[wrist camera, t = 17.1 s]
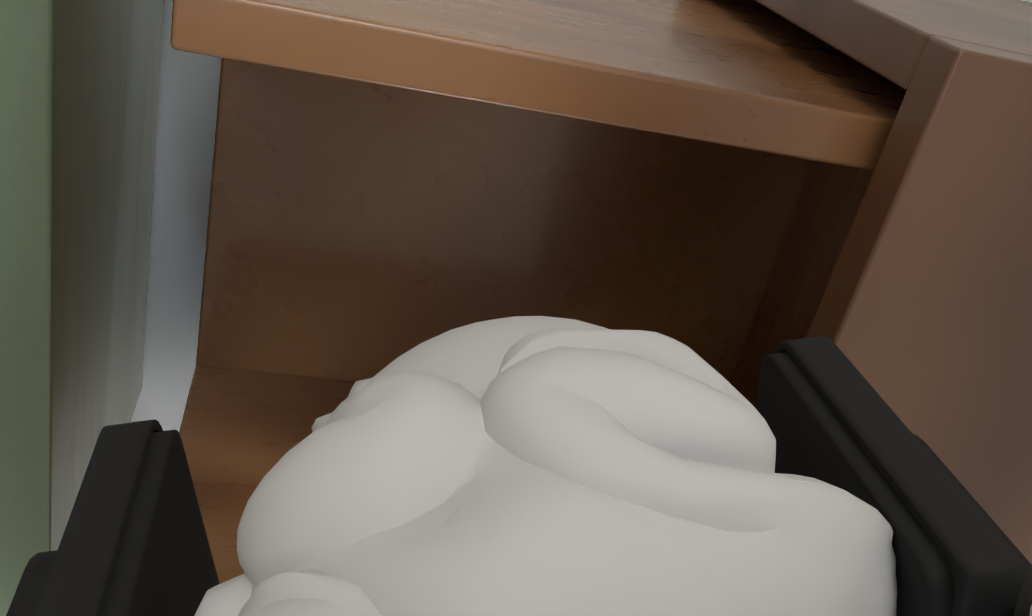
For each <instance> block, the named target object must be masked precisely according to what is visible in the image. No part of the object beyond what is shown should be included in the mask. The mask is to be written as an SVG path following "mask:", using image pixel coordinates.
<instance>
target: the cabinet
mask: <svg viewBox="0 0 1032 616" xmlns="http://www.w3.org/2000/svg"><path fill="white" fill-rule="evenodd" d="M714 1H719V2H724V3H729V4H733V5H738V6H743V7H748V8H752V9H757V10H762V11H767V12H771V13H776V14H778V15H780V16H782V17H783V18H785V19H787V20H788V21H790V22H792V23H793V24H795V25H797V26H798V27H800V28H802V29H804V30H805V31H807V32H809V33H810V34H812V35H814V36H815V37H817V38H819V39H820V40H822V41H824V42H826V43H827V44H829V45H831V46H832V47H834V48H836V49H837V50H839V51H841V52H842V53H844V54H846V55H848V56H849V57H851V58H853V59H854V60H856V61H858V62H859V63H861V64H863V65H864V66H866V67H868V68H870V69H871V70H873V71H875V72H876V73H878V74H880V75H881V76H883V77H885V78H886V79H888V80H890V81H892V82H893V83H895V84H897V85H898V86H900V87H902V88H903V89H905V90H907V91H906V94H905V96H904V99H903V101H902V104H901V106H900V109H899V111H898V113H897V116H896V118H895V121H894V123H893V126H892V128H891V131H890V133H889V135H888V138H887V140H886V143H885V145H884V148H883V150H882V152H881V155H880V157H879V160H878V162H877V165H876V167H875V170H874V172H873V174H872V177H871V179H870V182H869V184H868V187H867V189H866V192H865V194H864V196H863V199H862V201H861V204H860V206H859V209H858V211H857V214H856V216H855V218H854V221H853V223H852V226H851V228H850V231H849V233H848V236H847V238H846V240H845V243H844V245H843V248H842V250H841V253H840V255H839V258H838V260H837V262H836V265H835V267H834V270H833V272H832V275H831V277H830V280H829V282H828V284H827V287H826V289H825V292H824V294H823V297H822V299H821V301H820V304H819V306H818V309H817V311H816V314H815V316H814V319H813V321H812V323H811V326H810V328H809V331H808V333H807V336H806V338H810V337H818V336H827V337H829V338H830V339H831V340H832V341H833V342H834V343H835V344H836V345H837V346H838V348H839V349H840V350H841V351H842V352H843V353H844V355H845V356H846V357H847V358H848V359H849V360H850V362H851V363H852V364H853V365H854V366H855V367H856V369H857V370H858V371H859V372H860V373H861V374H862V375H863V377H864V378H865V379H866V380H867V381H868V382H869V384H870V385H871V386H872V387H873V388H874V389H875V391H876V392H877V393H878V394H879V395H880V396H881V398H882V399H883V400H884V401H885V402H886V403H887V405H888V406H889V407H890V408H891V409H892V410H893V412H894V413H895V414H896V415H897V416H898V417H899V418H900V420H901V421H902V422H903V423H904V424H905V425H906V427H907V428H908V429H909V430H910V431H911V432H912V434H915V435H917V436H919V437H920V438H921V439H922V440H923V441H924V442H926V444H927V445H928V446H929V447H930V448H931V449H932V450H933V452H934V453H935V454H936V455H937V456H938V457H939V458H940V460H941V461H942V462H943V463H944V464H945V465H946V467H947V468H948V469H949V470H950V471H951V472H952V473H953V475H954V476H955V477H956V478H957V479H958V480H959V481H960V483H961V484H962V485H963V486H964V487H965V488H966V490H967V491H968V492H969V493H970V494H971V495H972V496H973V498H974V499H975V500H976V501H977V502H978V503H979V505H980V506H981V507H982V508H983V509H984V510H985V511H986V513H987V514H988V515H989V516H990V517H991V518H992V519H993V521H994V522H995V523H996V524H997V525H998V526H999V528H1000V529H1001V530H1002V531H1003V532H1004V533H1005V534H1006V536H1007V537H1008V538H1009V539H1010V540H1011V541H1012V542H1013V544H1014V545H1015V546H1016V547H1017V548H1018V549H1019V551H1020V552H1021V553H1022V554H1023V555H1024V556H1025V557H1026V559H1027V560H1028V561H1029V562H1030V563H1031V564H1032V3H1031V2H1027V1H1022V0H714Z"/></svg>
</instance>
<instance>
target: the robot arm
mask: <svg viewBox="0 0 1032 616" xmlns="http://www.w3.org/2000/svg"><path fill="white" fill-rule="evenodd" d="M757 411H758V412H759V413H760V414H761V415H762V417H763V418H764V419H765V420H766V422H767V424H768V426H769V428H770V429H771V431H772V433H773V435H774V437H775V439H776V459H775V473H781V474H795V475H800V476H806V477H811V478H815V479H818V480H820V481H823V482H826V483H828V484H831V485H833V486H836V487H838V488H841V489H843V490H845V491H847V492H849V493H850V494H852V495H854V496H855V497H857V498H859V499H860V500H862V501H864V502H865V503H867V504H869V505H870V506H872V507H874V508H876V509H877V510H878V511H879V512H880V514H881V515H882V516H883V517H884V518H885V519H886V520H887V522H888V523H889V524H890V525H891V528H892V530H893V538H892V547H893V550H894V553H895V556H896V578H897V610H896V616H1032V564H1031V563H1030V562H1029V561H1028V560H1027V559H1026V557H1025V556H1024V555H1023V554H1022V553H1021V552H1020V551H1019V549H1018V548H1017V547H1016V546H1015V545H1014V544H1013V542H1012V541H1011V540H1010V539H1009V538H1008V537H1007V536H1006V534H1005V533H1004V532H1003V531H1002V530H1001V529H1000V528H999V526H998V525H997V524H996V523H995V522H994V521H993V519H992V518H991V517H990V516H989V515H988V514H987V513H986V511H985V510H984V509H983V508H982V507H981V506H980V505H979V503H978V502H977V501H976V500H975V499H974V498H973V496H972V495H971V494H970V493H969V492H968V491H967V490H966V488H965V487H964V486H963V485H962V484H961V483H960V481H959V480H958V479H957V478H956V477H955V476H954V475H953V473H952V472H951V471H950V470H949V469H948V468H947V467H946V465H945V464H944V463H943V462H942V461H941V460H940V458H939V457H938V456H937V455H936V454H935V453H934V452H933V450H932V449H931V448H930V447H929V446H928V445H927V444H926V442H924V441H923V440H922V439H921V438H920V437H919V436H917V435H915V434H912V432H911V431H910V430H909V429H908V428H907V427H906V425H905V424H904V423H903V422H902V421H901V420H900V418H899V417H898V416H897V415H896V414H895V413H894V412H893V410H892V409H891V408H890V407H889V406H888V405H887V403H886V402H885V401H884V400H883V399H882V398H881V396H880V395H879V394H878V393H877V392H876V391H875V389H874V388H873V387H872V386H871V385H870V384H869V382H868V381H867V380H866V379H865V378H864V377H863V375H862V374H861V373H860V372H859V371H858V370H857V369H856V367H855V366H854V365H853V364H852V363H851V362H850V360H849V359H848V358H847V357H846V356H845V355H844V353H843V352H842V351H841V350H840V349H839V348H838V346H837V345H836V344H835V343H834V342H833V341H832V340H831V339H830V338H829V337H827V336H818V337H810V338H802V339H794V340H786V341H780V342H779V343H778V344H777V346H776V348H775V350H774V354H769V355H765V356H764V357H763V359H762V362H761V368H760V379H759V390H758V402H757ZM219 584H220V583H219V580H218V576H217V572H216V568H215V564H214V561H213V557H212V553H211V549H210V545H209V542H208V538H207V534H206V530H205V526H204V523H203V519H202V515H201V511H200V507H199V504H198V500H197V496H196V492H195V489H194V485H193V481H192V477H191V473H190V470H189V466H188V462H187V458H186V454H185V451H184V447H183V443H182V440H181V437H180V434H179V432H178V431H177V430H170V431H163V430H162V427H161V425H160V423H159V422H158V421H157V420H148V421H140V422H132V423H124V424H116V425H108V426H105V427H103V428H102V430H101V432H100V434H99V437H98V439H97V442H96V445H95V448H94V450H93V453H92V456H91V459H90V462H89V464H88V467H87V470H86V473H85V475H84V478H83V481H82V484H81V487H80V489H79V492H78V495H77V498H76V500H75V503H74V506H73V509H72V511H71V514H70V517H69V520H68V523H67V525H66V528H65V531H64V534H63V536H62V539H61V542H60V545H59V548H58V550H55V551H48V552H40V553H37V554H35V555H34V556H33V557H31V558H30V560H29V562H28V564H27V565H26V567H25V569H24V572H23V574H22V577H21V579H20V582H19V584H18V587H17V589H16V592H15V594H14V597H13V599H12V602H11V605H10V607H9V610H8V612H7V615H6V616H194V615H195V613H196V611H197V609H198V607H199V605H200V603H201V601H202V599H203V597H204V595H205V594H206V592H207V590H209V589H211V588H212V587H214V586H216V585H219Z"/></svg>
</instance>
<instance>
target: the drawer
mask: <svg viewBox="0 0 1032 616" xmlns="http://www.w3.org/2000/svg"><path fill="white" fill-rule="evenodd" d="M162 15H163V0H0V616H6V615H7V612H8V610H9V607H10V605H11V602H12V599H13V597H14V594H15V592H16V589H17V587H18V584H19V582H20V579H21V577H22V574H23V572H24V569H25V567H26V565H27V564H28V562H29V560H30V558H31V557H33V556H34V555H35V554H37V553H40V552H48V551H55V550H58V548H59V545H60V542H61V539H62V536H63V534H64V531H65V528H66V525H67V523H68V520H69V517H70V514H71V511H72V509H73V506H74V503H75V500H76V498H77V495H78V492H79V489H80V487H81V484H82V481H83V478H84V475H85V473H86V470H87V467H88V464H89V462H90V459H91V456H92V453H93V450H94V448H95V445H96V442H97V439H98V437H99V434H100V432H101V430H102V428H103V427H105V426H108V425H116V424H124V423H130V421H131V418H132V415H133V412H134V409H135V406H136V403H137V400H138V397H139V394H140V390H141V387H142V377H143V359H144V340H145V322H146V304H147V286H148V268H149V250H150V232H151V214H152V196H153V178H154V159H155V141H156V123H157V105H158V87H159V69H160V51H161V33H162ZM171 45H172V47H173V48H175V49H176V50H181V51H187V52H193V53H198V54H204V55H210V56H216V57H221V58H222V59H221V71H220V83H219V95H218V107H217V119H216V131H215V143H214V155H213V167H212V179H211V191H210V203H209V214H208V226H207V238H206V250H205V262H204V274H203V286H202V298H201V310H200V322H199V334H198V346H197V357H196V367H195V371H194V375H193V379H192V383H191V387H190V391H189V395H188V399H187V403H186V407H185V411H184V415H183V419H182V423H181V427H180V432H179V434H180V437H181V440H182V443H183V447H184V451H185V454H186V458H187V462H188V466H189V470H190V473H191V477H192V481H193V485H194V489H195V492H196V496H197V500H198V504H199V507H200V511H201V515H202V519H203V523H204V526H205V530H206V534H207V538H208V542H209V545H210V549H211V553H212V557H213V561H214V564H215V568H216V572H217V576H218V580H219V583H220V584H221V583H223V582H226V581H228V580H230V579H233V578H235V577H237V576H239V575H242V574H244V573H245V572H244V570H243V569H242V567H241V565H240V563H239V559H238V555H237V529H238V526H239V523H240V520H241V516H242V514H243V512H244V509H245V507H246V504H247V502H248V500H249V498H250V497H251V495H252V494H253V492H254V491H255V489H256V488H257V486H258V485H259V483H260V482H261V480H262V479H263V477H264V476H265V475H266V474H267V473H268V472H269V471H270V470H271V469H272V468H273V467H274V466H275V464H276V463H277V462H278V461H279V460H280V459H281V458H282V457H283V456H284V455H285V454H286V453H287V452H288V451H289V450H290V449H292V448H293V447H294V446H296V445H297V444H298V443H300V442H301V441H302V440H303V439H305V438H306V437H307V436H309V435H310V434H311V433H312V426H313V424H314V422H315V420H316V419H317V418H319V417H321V416H324V415H327V414H329V413H332V412H334V410H335V409H336V408H337V407H338V406H339V405H340V403H341V402H342V401H344V400H345V399H347V398H348V395H349V393H350V391H351V388H352V387H353V385H354V384H355V382H356V381H360V380H365V379H369V378H373V377H374V376H375V375H376V374H377V373H379V372H380V371H381V370H382V369H384V368H385V367H386V366H387V365H389V364H390V363H391V362H392V361H394V360H395V359H396V358H397V357H399V356H401V355H402V354H404V353H406V352H407V351H409V350H411V349H412V348H414V347H416V346H417V345H419V344H421V343H422V342H425V341H427V340H429V339H431V338H434V337H436V336H438V335H440V334H442V333H445V332H447V331H449V330H452V329H455V328H458V327H462V326H465V325H469V324H472V323H475V322H481V321H487V320H493V319H499V318H506V317H513V316H548V317H557V318H567V319H575V320H579V321H582V322H586V323H590V324H593V325H597V326H601V327H605V328H607V329H610V330H643V331H652V332H657V333H660V334H662V335H665V336H668V337H670V338H673V339H675V340H677V341H679V342H681V343H683V344H684V345H686V346H688V347H689V348H691V349H692V350H693V351H694V352H695V353H696V354H698V355H699V356H700V357H701V358H702V359H703V360H704V361H706V362H707V363H708V364H709V365H710V366H711V367H713V368H714V369H715V370H716V371H717V372H718V373H719V374H721V375H722V376H723V377H724V378H725V379H726V380H727V381H728V382H729V383H730V384H731V385H732V386H733V387H734V388H735V389H736V390H737V391H738V392H739V393H741V394H742V395H743V396H744V397H745V398H746V399H747V400H748V401H749V402H750V403H751V404H752V405H753V406H754V407H755V408H756V410H757V402H758V390H759V379H760V368H761V362H762V359H763V357H764V356H765V355H769V354H774V350H775V348H776V346H777V344H778V343H779V342H780V341H786V340H794V339H802V338H806V336H807V333H808V331H809V328H810V326H811V323H812V321H813V319H814V316H815V314H816V311H817V309H818V306H819V304H820V301H821V299H822V297H823V294H824V292H825V289H826V287H827V284H828V282H829V280H830V277H831V275H832V272H833V270H834V267H835V265H836V262H837V260H838V258H839V255H840V253H841V250H842V248H843V245H844V243H845V240H846V238H847V236H848V233H849V231H850V228H851V226H852V223H853V221H854V218H855V216H856V214H857V211H858V209H859V206H860V204H861V201H862V199H863V196H864V194H865V192H866V189H867V187H868V184H869V182H870V179H871V177H872V174H873V172H874V170H875V167H876V165H877V162H878V160H879V157H880V155H881V152H882V150H883V148H884V145H885V143H886V140H887V138H888V135H889V133H890V131H891V128H892V126H893V123H894V121H895V118H896V116H897V113H898V111H899V109H900V106H901V104H902V101H903V99H904V96H905V94H906V91H907V90H905V89H903V88H902V87H900V86H898V85H897V84H895V83H893V82H892V81H890V80H888V79H886V78H885V77H883V76H881V75H880V74H878V73H876V72H875V71H873V70H871V69H870V68H868V67H866V66H864V65H863V64H861V63H859V62H858V61H856V60H854V59H853V58H851V57H849V56H848V55H846V54H844V53H842V52H841V51H839V50H837V49H836V48H834V47H832V46H831V45H829V44H827V43H826V42H824V41H822V40H820V39H819V38H817V37H815V36H814V35H812V34H810V33H809V32H807V31H805V30H804V29H802V28H800V27H798V26H797V25H795V24H793V23H792V22H790V21H788V20H787V19H785V18H783V17H782V16H780V15H778V14H776V13H771V12H767V11H762V10H757V9H752V8H748V7H743V6H738V5H733V4H729V3H724V2H719V1H714V0H173V11H172V28H171Z"/></svg>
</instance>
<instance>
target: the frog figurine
mask: <svg viewBox="0 0 1032 616" xmlns="http://www.w3.org/2000/svg"><path fill="white" fill-rule="evenodd" d="M775 459H776V439H775V437H774V435H773V433H772V431H771V429H770V428H769V426H768V424H767V422H766V420H765V419H764V418H763V417H762V415H761V414H760V413H759V412H758V411H757V410H756V408H755V407H754V406H753V405H752V404H751V403H750V402H749V401H748V400H747V399H746V398H745V397H744V396H743V395H742V394H741V393H739V392H738V391H737V390H736V389H735V388H734V387H733V386H732V385H731V384H730V383H729V382H728V381H727V380H726V379H725V378H724V377H723V376H722V375H721V374H719V373H718V372H717V371H716V370H715V369H714V368H713V367H711V366H710V365H709V364H708V363H707V362H706V361H704V360H703V359H702V358H701V357H700V356H699V355H698V354H696V353H695V352H694V351H693V350H692V349H691V348H689V347H688V346H686V345H684V344H683V343H681V342H679V341H677V340H675V339H673V338H670V337H668V336H665V335H662V334H660V333H657V332H652V331H643V330H610V329H607V328H605V327H601V326H597V325H593V324H590V323H586V322H582V321H579V320H575V319H567V318H557V317H548V316H513V317H506V318H499V319H493V320H487V321H481V322H475V323H472V324H469V325H465V326H462V327H458V328H455V329H452V330H449V331H447V332H445V333H442V334H440V335H438V336H436V337H434V338H431V339H429V340H427V341H425V342H422V343H421V344H419V345H417V346H416V347H414V348H412V349H411V350H409V351H407V352H406V353H404V354H402V355H401V356H399V357H397V358H396V359H395V360H394V361H392V362H391V363H390V364H389V365H387V366H386V367H385V368H384V369H382V370H381V371H380V372H379V373H377V374H376V375H375V376H374V377H373V378H369V379H365V380H360V381H356V382H355V384H354V385H353V387H352V388H351V391H350V393H349V395H348V398H347V399H345V400H344V401H342V402H341V403H340V405H339V406H338V407H337V408H336V409H335V410H334V412H332V413H329V414H327V415H324V416H321V417H319V418H317V419H316V420H315V422H314V424H313V426H312V433H311V434H310V435H309V436H307V437H306V438H305V439H303V440H302V441H301V442H300V443H298V444H297V445H296V446H294V447H293V448H292V449H290V450H289V451H288V452H287V453H286V454H285V455H284V456H283V457H282V458H281V459H280V460H279V461H278V462H277V463H276V464H275V466H274V467H273V468H272V469H271V470H270V471H269V472H268V473H267V474H266V475H265V476H264V477H263V479H262V480H261V482H260V483H259V485H258V486H257V488H256V489H255V491H254V492H253V494H252V495H251V497H250V498H249V500H248V502H247V504H246V507H245V509H244V512H243V514H242V516H241V520H240V523H239V526H238V529H237V555H238V559H239V563H240V565H241V567H242V569H243V570H244V572H245V573H244V574H242V575H239V576H237V577H235V578H233V579H230V580H228V581H226V582H223V583H221V584H219V585H216V586H214V587H212V588H211V589H209V590H207V592H206V594H205V595H204V597H203V599H202V601H201V603H200V605H199V607H198V609H197V611H196V613H195V615H194V616H896V610H897V578H896V556H895V553H894V550H893V547H892V538H893V530H892V528H891V525H890V524H889V523H888V522H887V520H886V519H885V518H884V517H883V516H882V515H881V514H880V512H879V511H878V510H877V509H876V508H874V507H872V506H870V505H869V504H867V503H865V502H864V501H862V500H860V499H859V498H857V497H855V496H854V495H852V494H850V493H849V492H847V491H845V490H843V489H841V488H838V487H836V486H833V485H831V484H828V483H826V482H823V481H820V480H818V479H815V478H811V477H806V476H800V475H795V474H781V473H775Z"/></svg>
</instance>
